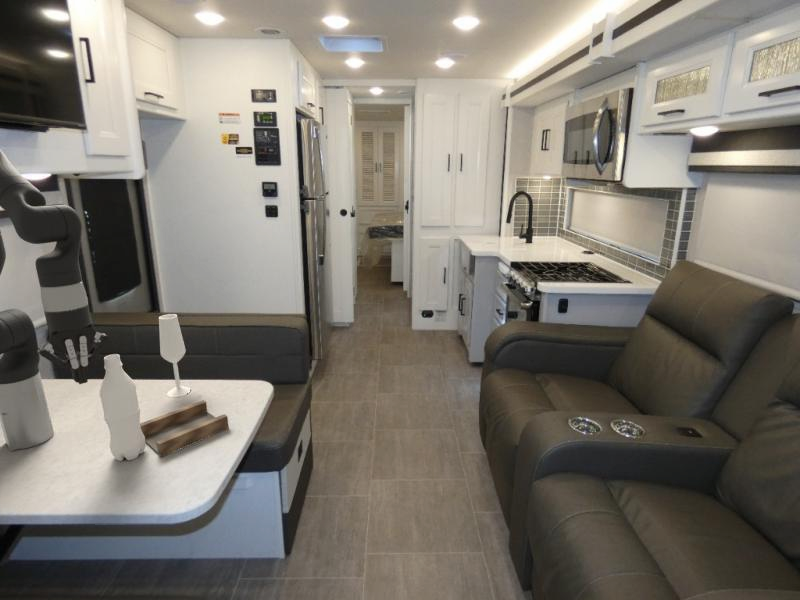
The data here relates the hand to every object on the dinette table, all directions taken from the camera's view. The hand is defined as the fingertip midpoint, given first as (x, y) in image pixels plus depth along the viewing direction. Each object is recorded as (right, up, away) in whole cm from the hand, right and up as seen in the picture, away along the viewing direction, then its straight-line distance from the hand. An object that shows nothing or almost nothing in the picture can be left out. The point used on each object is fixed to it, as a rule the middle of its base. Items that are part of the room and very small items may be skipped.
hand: (82, 382), depth 101 cm
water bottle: (+4, -19, +10) cm, 22 cm away
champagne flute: (+1, -10, +41) cm, 43 cm away
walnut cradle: (+13, -16, +19) cm, 29 cm away
